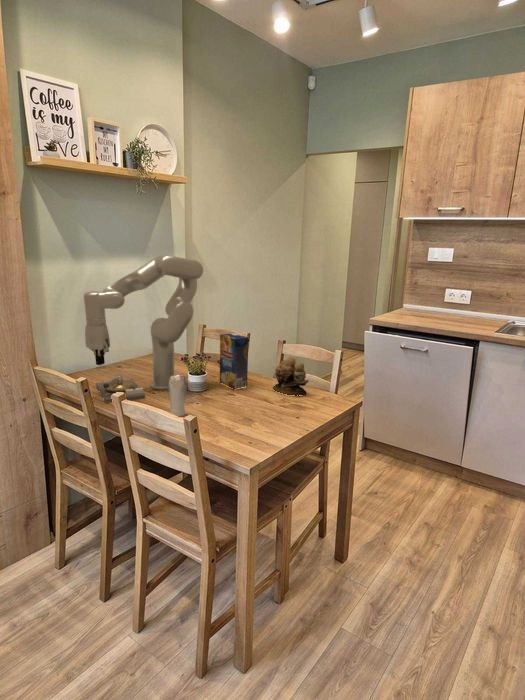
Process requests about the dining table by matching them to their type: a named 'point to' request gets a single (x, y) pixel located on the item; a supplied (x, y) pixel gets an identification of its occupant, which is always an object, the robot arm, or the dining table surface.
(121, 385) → the cam foot
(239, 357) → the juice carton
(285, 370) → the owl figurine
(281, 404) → the dining table surface
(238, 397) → the dining table surface
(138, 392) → the level stand
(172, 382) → the beer glass
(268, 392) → the dining table surface
